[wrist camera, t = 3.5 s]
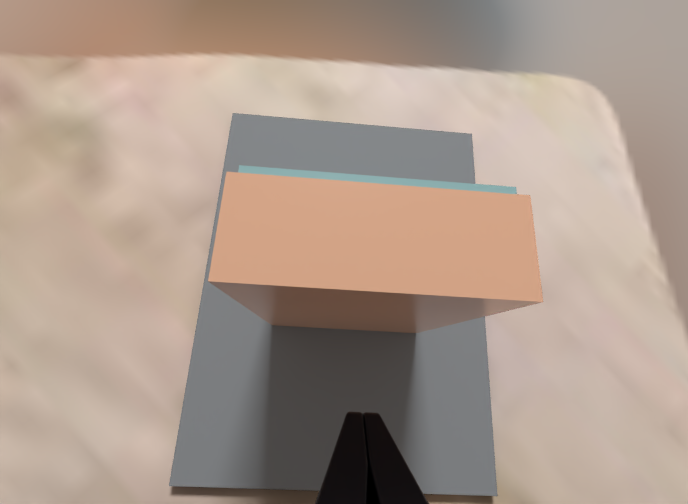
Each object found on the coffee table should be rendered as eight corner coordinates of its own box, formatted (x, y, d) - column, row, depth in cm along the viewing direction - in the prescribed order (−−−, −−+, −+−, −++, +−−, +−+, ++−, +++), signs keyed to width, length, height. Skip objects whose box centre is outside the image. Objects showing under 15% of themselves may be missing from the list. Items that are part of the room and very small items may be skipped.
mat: (492, 492, 15) (497, 496, 15) (172, 482, 15) (168, 486, 14) (468, 137, 21) (471, 133, 21) (234, 117, 20) (232, 113, 20)
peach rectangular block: (416, 333, 17) (543, 301, 7) (271, 325, 17) (207, 281, 7) (415, 277, 18) (528, 183, 8) (277, 268, 17) (228, 159, 8)
